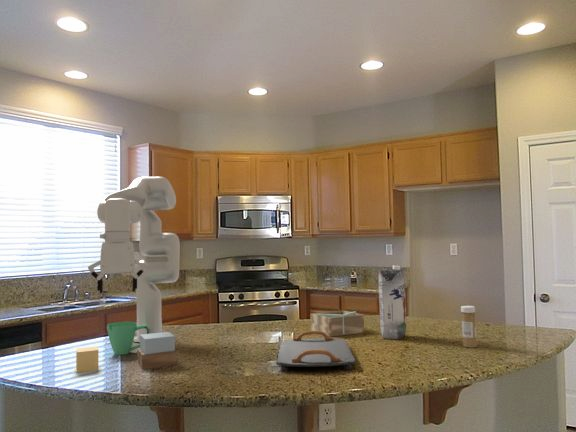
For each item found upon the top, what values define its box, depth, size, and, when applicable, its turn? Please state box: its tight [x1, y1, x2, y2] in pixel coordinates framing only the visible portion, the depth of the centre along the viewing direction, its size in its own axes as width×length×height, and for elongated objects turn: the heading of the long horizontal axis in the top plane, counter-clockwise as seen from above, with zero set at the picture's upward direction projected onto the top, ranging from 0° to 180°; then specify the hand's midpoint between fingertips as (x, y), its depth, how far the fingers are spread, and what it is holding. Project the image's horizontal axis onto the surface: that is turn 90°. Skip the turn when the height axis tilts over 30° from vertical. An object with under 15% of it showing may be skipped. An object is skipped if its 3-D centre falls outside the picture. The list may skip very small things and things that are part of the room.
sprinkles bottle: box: [460, 305, 478, 348], centre depth 163 cm, size 5×5×14 cm
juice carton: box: [378, 265, 407, 340], centre depth 183 cm, size 9×10×27 cm
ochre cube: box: [75, 346, 99, 373], centre depth 146 cm, size 6×6×6 cm
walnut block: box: [137, 348, 177, 370], centre depth 151 cm, size 10×10×4 cm
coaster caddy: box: [309, 310, 365, 337], centre depth 197 cm, size 16×16×7 cm
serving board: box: [275, 330, 356, 372], centre depth 153 cm, size 39×23×6 cm, turn 179°
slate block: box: [139, 331, 176, 354], centre depth 151 cm, size 9×9×4 cm
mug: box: [106, 321, 150, 356], centre depth 167 cm, size 15×10×10 cm
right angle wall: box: [317, 310, 357, 334], centre depth 197 cm, size 12×12×8 cm
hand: (117, 292), depth 151 cm, fingers open, 9 cm apart
